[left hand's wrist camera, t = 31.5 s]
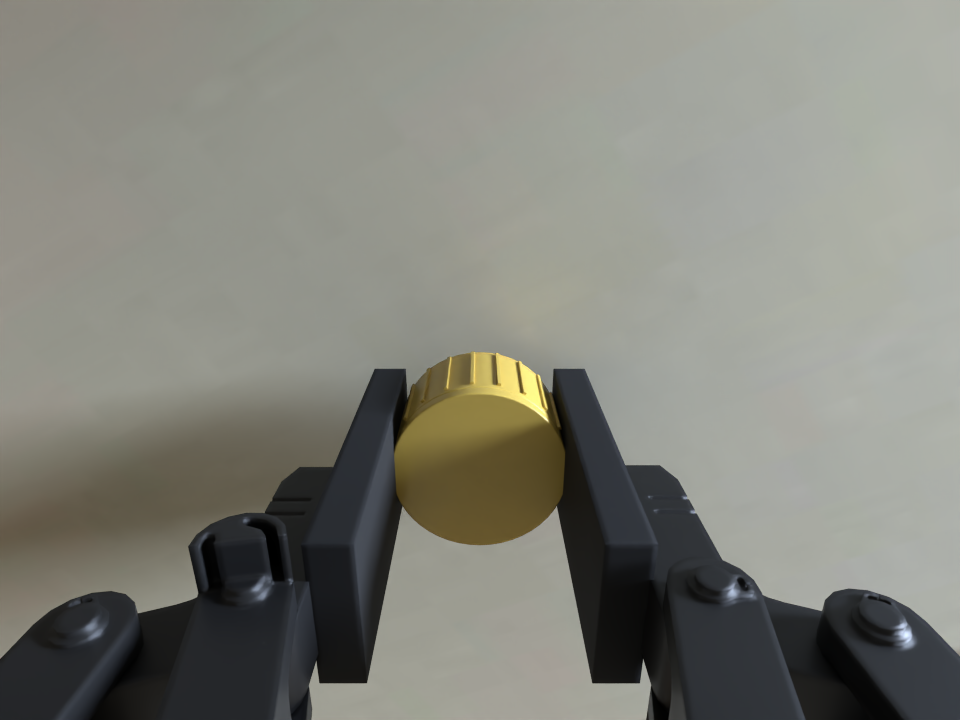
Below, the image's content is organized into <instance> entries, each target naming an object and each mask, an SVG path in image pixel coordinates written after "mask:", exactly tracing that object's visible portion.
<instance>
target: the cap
mask: <svg viewBox="0 0 960 720" xmlns="http://www.w3.org/2000/svg"><path fill="white" fill-rule="evenodd" d="M561 429H562V428H561V425H560V421H559V417H558V413H557V410H556V406H555V402H554V398H553V395H552V393H551V392H550V393H549V392H548V390H547V388H546V387H545V385H544V384H543V382H542V381H541V379H540V376H539V375H538V374H537V375H536V374H535V373H534V372H532V371H531V370H530V369H529V368H527V367H526V366H524V365H523V364H522V362H520V361H515V360H513V359H511V358H508V357H505V356H502V355H499V353H496V354H493V353H481V352H477V353H475V352H471V353H467V354H461V355H457V356H454V357H448V358H447V359H446V360H444V361H442V362H440V363H438V364H437V365H435V366H433V367H432V368H431V369H430V368H428V369H427V372H426V373H425V374H424V375H423V376H422V377H421V378H420V379H419V380H418V381H417V383H416V384H413V385H412V387H411V391H410V395H409V397H408V399H407V402H406V405H405V409H404V413H403V416H402V420H401V424H400V428H399V432H398V436H397V441H396V444H395V448H394V461H395V477H396V493H397V496H398V499H399V501H400V503H401V504H402V506H403V507H404V509H405V510H406V511H407V513H408V514H409V515H410V516H411V517H412V518H413V519H414V520H415V521H416V522H417V523H418V524H419V525H421V526H422V527H423V528H425V529H426V530H428V531H429V532H431V533H433V534H435V535H437V536H439V537H442V538H444V539H447V540H450V541H453V542H457V543H462V544H469V545H490V544H497V543H502V542H506V541H509V540H513V539H515V538H518V537H520V536H523V535H524V534H526V533H528V532H530V531H532V530H533V529H534V528H536V527H537V526H539V525H540V524H541V523H542V522H543V521H544V520H545V519H547V518H548V516H549V515H550V514H551V513H552V512H553V511H554V509H555V508H556V506H557V504H558V503H559V501H560V499H561V497H562V495H563V482H564V465H565V447H564V443H563V439H562V435H561V432H560V430H561Z"/></svg>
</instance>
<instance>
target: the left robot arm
mask: <svg viewBox="0 0 960 720" xmlns="http://www.w3.org/2000/svg"><path fill="white" fill-rule="evenodd" d="M552 395H553V398H554V402H555V406H556V410H557V413H558V417H559V421H560V425H561V428H562V429H561V430H560V432H561V435H562V439H563V443H564V447H565V465H564V482H563V495H562V497H561V499H560V501H559V503H558V504H557V508H558V513H559V518H560V523H561V528H562V533H563V538H564V543H565V548H566V553H567V558H568V563H569V568H570V573H571V578H572V583H573V588H574V593H575V598H576V603H577V608H578V613H579V618H580V623H581V628H582V633H583V638H584V644H585V649H586V654H587V659H588V664H589V669H590V674H591V679H592V683H640V678H641V670H642V663H643V659H644V662H645V666H646V669H647V672H648V676H649V679H650V682H651V691H650V698H649V705H648V712H647V719H646V720H960V656H959V655H958V654H957V653H956V652H955V651H954V650H953V649H952V648H951V647H950V646H949V645H948V644H947V643H946V642H945V641H944V640H943V638H942V637H941V636H940V635H939V634H938V633H937V632H936V631H935V630H934V629H933V628H932V627H931V626H930V625H929V624H928V623H927V622H926V621H925V620H924V619H922V618H921V617H920V616H919V615H917V614H916V613H915V612H914V611H912V610H911V609H910V608H908V607H907V606H905V605H903V604H901V603H899V602H897V601H895V600H893V599H891V598H890V597H887V596H884V595H881V594H877V593H874V592H871V591H868V590H858V589H845V590H840V591H836V592H833V593H832V594H831V595H830V596H829V597H828V598H827V599H826V600H825V603H824V606H823V610H822V611H819V610H814V609H810V608H806V607H801V606H797V605H793V604H788V603H784V602H781V601H777V600H774V599H771V598H768V597H766V596H763V595H762V593H761V591H760V589H759V588H758V586H757V584H756V583H755V581H754V580H753V579H752V578H751V577H750V576H748V575H747V574H746V573H745V572H744V571H742V570H741V569H740V568H738V567H735V566H733V565H731V564H729V563H727V562H725V561H723V560H722V559H721V557H720V555H719V553H718V551H717V550H716V548H715V546H714V544H713V542H712V541H711V539H710V537H709V535H708V533H707V531H706V530H705V528H704V526H703V524H702V522H701V521H700V519H699V517H698V515H697V514H695V510H694V508H693V506H692V504H691V503H690V501H689V500H687V495H686V493H685V492H684V490H683V488H682V486H681V484H680V483H679V481H678V479H676V478H675V477H674V476H673V475H671V474H670V473H669V472H667V471H666V470H665V469H664V468H662V467H661V466H660V465H625V464H624V461H623V459H622V457H621V454H620V452H619V450H618V447H617V445H616V442H615V440H614V438H613V435H612V433H611V431H610V428H609V426H608V423H607V421H606V419H605V416H604V414H603V412H602V409H601V407H600V405H599V402H598V400H597V397H596V395H595V393H594V390H593V388H592V386H591V383H590V381H589V378H588V376H587V374H586V371H585V369H554V371H553V391H552ZM406 402H407V385H406V369H375V370H374V372H373V374H372V377H371V379H370V381H369V384H368V386H367V389H366V391H365V393H364V396H363V398H362V400H361V403H360V405H359V408H358V410H357V412H356V415H355V417H354V419H353V422H352V424H351V427H350V429H349V431H348V434H347V436H346V438H345V441H344V443H343V445H342V448H341V450H340V453H339V455H338V457H337V460H336V462H335V464H334V467H299V468H298V469H297V470H296V471H294V472H293V473H292V474H291V475H289V476H288V477H287V478H286V479H284V480H283V481H282V482H281V484H280V485H279V487H278V489H277V491H276V493H275V495H274V496H273V500H272V501H271V502H270V504H269V505H268V507H267V509H266V511H265V513H244V514H239V515H234V516H230V517H227V518H224V519H222V520H220V521H217V522H215V523H213V524H210V525H209V526H208V527H206V528H205V529H204V530H202V531H201V532H200V533H198V534H197V535H196V536H195V538H194V539H193V541H192V542H191V543H190V545H189V546H188V548H189V552H190V557H191V561H192V566H193V570H194V575H195V579H196V584H197V589H198V596H197V598H195V599H193V600H190V601H187V602H183V603H180V604H177V605H173V606H168V607H164V608H160V609H156V610H151V611H147V612H143V613H137V610H136V606H135V602H134V601H133V600H131V599H130V598H129V597H128V596H127V595H126V594H122V593H117V592H113V591H107V592H97V593H90V594H87V595H84V596H81V597H78V598H75V599H72V600H69V601H68V602H66V603H64V604H62V605H60V606H58V607H56V608H54V609H53V610H51V611H49V612H48V613H47V614H46V615H45V616H43V617H42V618H41V619H40V620H38V621H37V622H36V623H35V624H34V625H33V626H32V627H31V628H30V629H29V630H28V631H27V632H26V633H25V634H24V635H23V636H22V637H21V638H20V639H19V640H18V641H17V642H16V643H15V644H14V645H13V646H12V647H11V648H10V650H9V651H8V652H7V653H6V654H5V655H4V656H3V657H2V658H1V659H0V720H311V717H312V705H311V698H310V691H309V683H310V679H311V676H312V673H313V670H314V666H315V663H316V660H317V668H318V675H319V683H367V680H368V675H369V670H370V665H371V660H372V655H373V650H374V645H375V640H376V635H377V630H378V625H379V620H380V615H381V610H382V605H383V600H384V595H385V590H386V585H387V580H388V575H389V570H390V565H391V560H392V555H393V550H394V545H395V540H396V535H397V530H398V525H399V520H400V515H401V510H402V504H401V503H400V501H399V499H398V496H397V493H396V477H395V461H394V448H395V444H396V441H397V436H398V432H399V428H400V424H401V420H402V416H403V413H404V409H405V405H406Z"/></svg>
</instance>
